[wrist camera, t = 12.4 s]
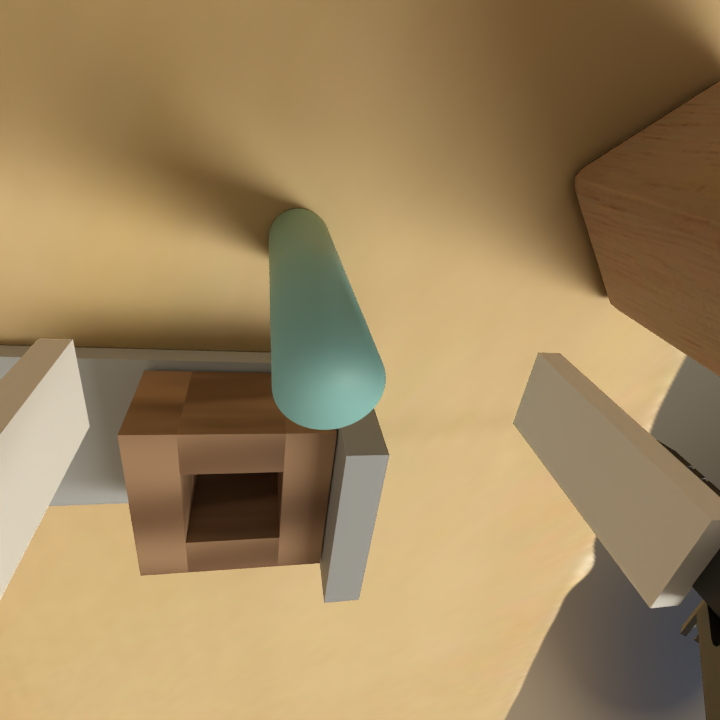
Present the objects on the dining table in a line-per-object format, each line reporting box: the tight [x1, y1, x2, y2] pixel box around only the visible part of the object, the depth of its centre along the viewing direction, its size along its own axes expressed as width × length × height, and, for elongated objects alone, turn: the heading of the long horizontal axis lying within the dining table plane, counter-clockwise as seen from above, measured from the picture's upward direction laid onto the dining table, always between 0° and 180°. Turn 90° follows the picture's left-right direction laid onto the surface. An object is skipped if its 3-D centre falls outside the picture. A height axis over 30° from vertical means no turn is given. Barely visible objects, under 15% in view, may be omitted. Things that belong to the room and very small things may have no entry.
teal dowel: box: [269, 208, 386, 430], centre depth 19 cm, size 3×3×14 cm
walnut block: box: [117, 371, 337, 576], centre depth 27 cm, size 10×10×6 cm
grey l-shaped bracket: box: [0, 345, 389, 603], centre depth 26 cm, size 11×22×9 cm, turn 83°
